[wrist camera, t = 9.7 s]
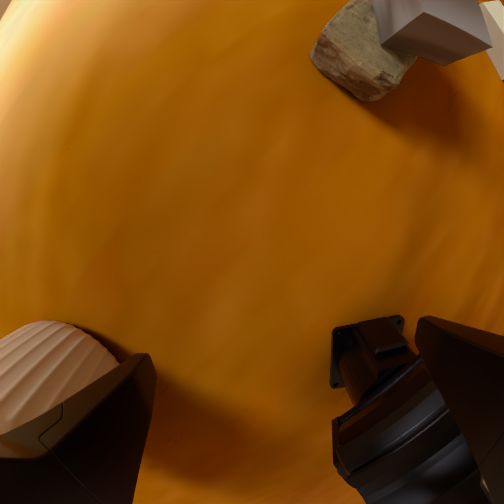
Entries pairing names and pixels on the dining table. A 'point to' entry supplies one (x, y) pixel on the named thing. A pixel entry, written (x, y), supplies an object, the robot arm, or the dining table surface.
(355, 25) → the stone block
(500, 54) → the beige brick
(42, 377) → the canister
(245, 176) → the dining table surface
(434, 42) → the gray cube
